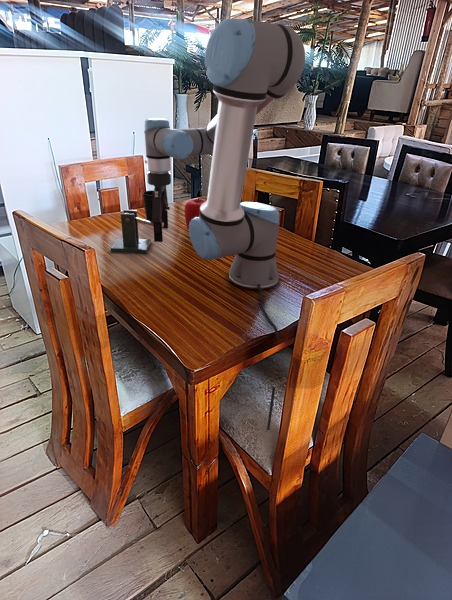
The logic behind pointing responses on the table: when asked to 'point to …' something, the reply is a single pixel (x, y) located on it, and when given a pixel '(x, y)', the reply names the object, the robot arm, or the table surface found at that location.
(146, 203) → the cup
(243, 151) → the robot arm
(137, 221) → the switch lever
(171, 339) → the table surface
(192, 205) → the apple
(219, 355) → the table surface
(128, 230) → the stand
